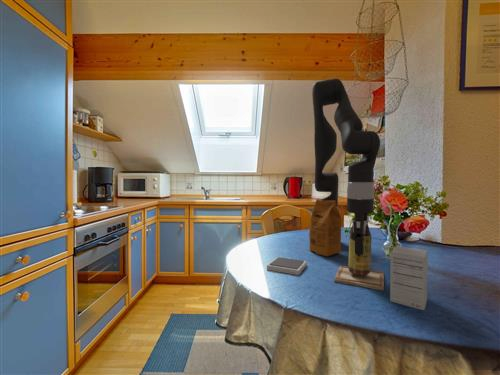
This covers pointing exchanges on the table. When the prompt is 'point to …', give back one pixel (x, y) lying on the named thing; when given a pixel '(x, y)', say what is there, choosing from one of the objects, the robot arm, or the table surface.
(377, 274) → the marked board
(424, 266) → the supplement box
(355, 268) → the sauce bottle
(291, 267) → the ink pad
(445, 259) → the table surface
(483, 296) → the table surface
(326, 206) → the coffee package
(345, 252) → the table surface
